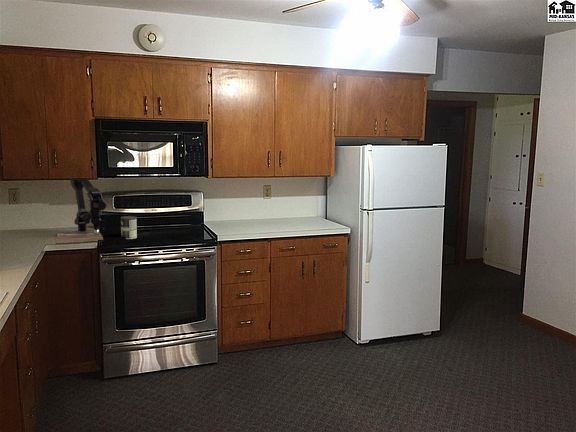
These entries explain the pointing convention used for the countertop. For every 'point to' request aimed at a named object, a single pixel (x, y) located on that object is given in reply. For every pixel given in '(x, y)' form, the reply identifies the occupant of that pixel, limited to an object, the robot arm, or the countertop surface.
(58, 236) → the base
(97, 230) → the tong arm
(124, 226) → the coffee can
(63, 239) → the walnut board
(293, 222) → the countertop surface
